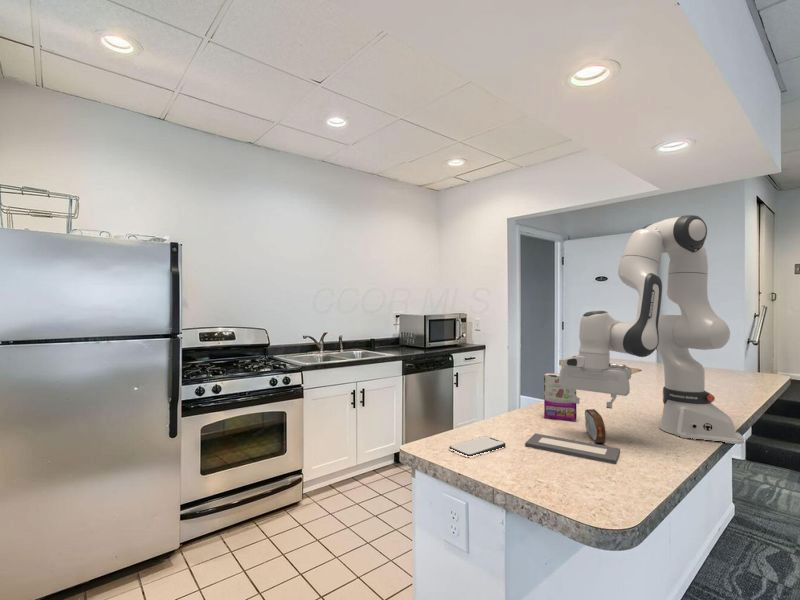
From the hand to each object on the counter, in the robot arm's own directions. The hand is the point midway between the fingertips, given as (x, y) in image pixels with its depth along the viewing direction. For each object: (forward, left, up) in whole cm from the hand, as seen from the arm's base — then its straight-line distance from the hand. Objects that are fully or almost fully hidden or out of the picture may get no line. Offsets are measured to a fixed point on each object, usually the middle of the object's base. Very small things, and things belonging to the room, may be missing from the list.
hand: (592, 405), depth 129 cm
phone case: (+27, +29, -11) cm, 41 cm away
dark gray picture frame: (+4, +14, -10) cm, 18 cm away
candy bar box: (+14, -18, -11) cm, 25 cm away
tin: (0, -1, -11) cm, 11 cm away
